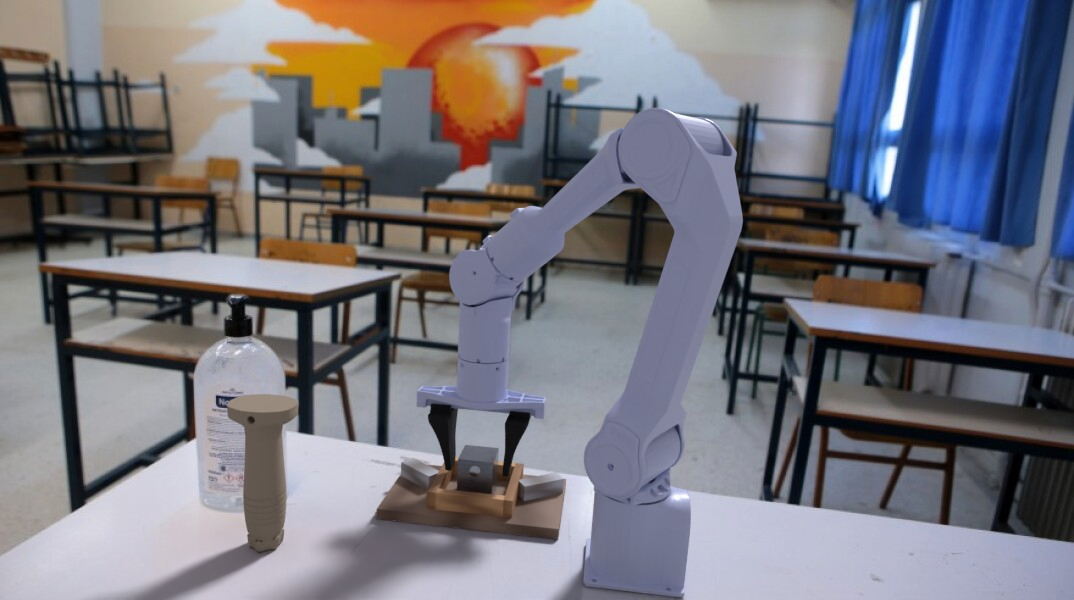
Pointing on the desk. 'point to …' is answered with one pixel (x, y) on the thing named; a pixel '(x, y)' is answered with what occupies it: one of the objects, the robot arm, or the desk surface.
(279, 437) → the handle
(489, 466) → the block
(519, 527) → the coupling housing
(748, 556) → the desk surface
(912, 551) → the desk surface
